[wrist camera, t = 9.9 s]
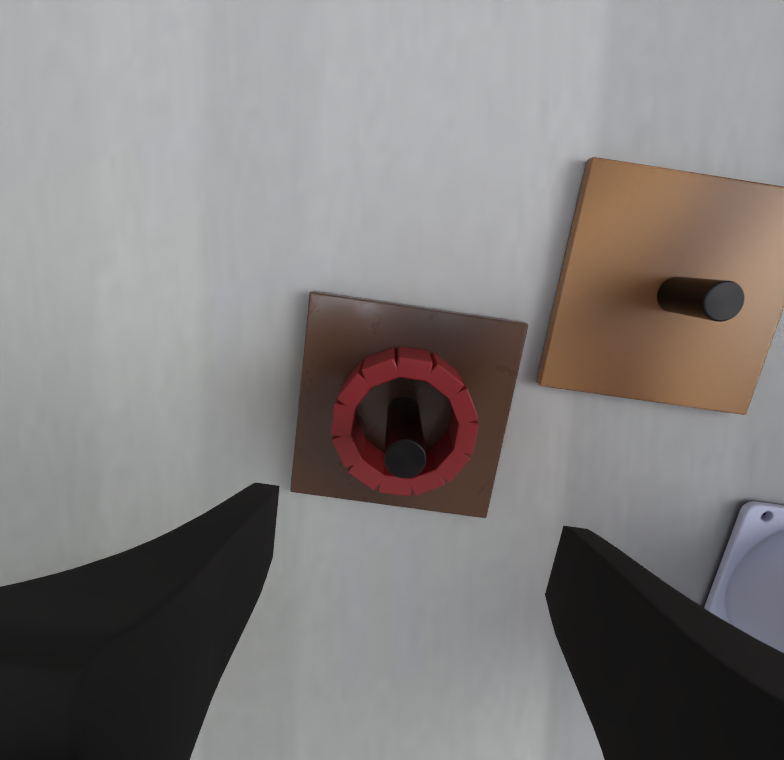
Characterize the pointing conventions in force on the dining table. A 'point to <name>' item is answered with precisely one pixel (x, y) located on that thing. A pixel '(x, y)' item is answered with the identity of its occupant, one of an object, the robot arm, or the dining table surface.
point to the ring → (439, 459)
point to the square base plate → (403, 397)
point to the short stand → (667, 287)
